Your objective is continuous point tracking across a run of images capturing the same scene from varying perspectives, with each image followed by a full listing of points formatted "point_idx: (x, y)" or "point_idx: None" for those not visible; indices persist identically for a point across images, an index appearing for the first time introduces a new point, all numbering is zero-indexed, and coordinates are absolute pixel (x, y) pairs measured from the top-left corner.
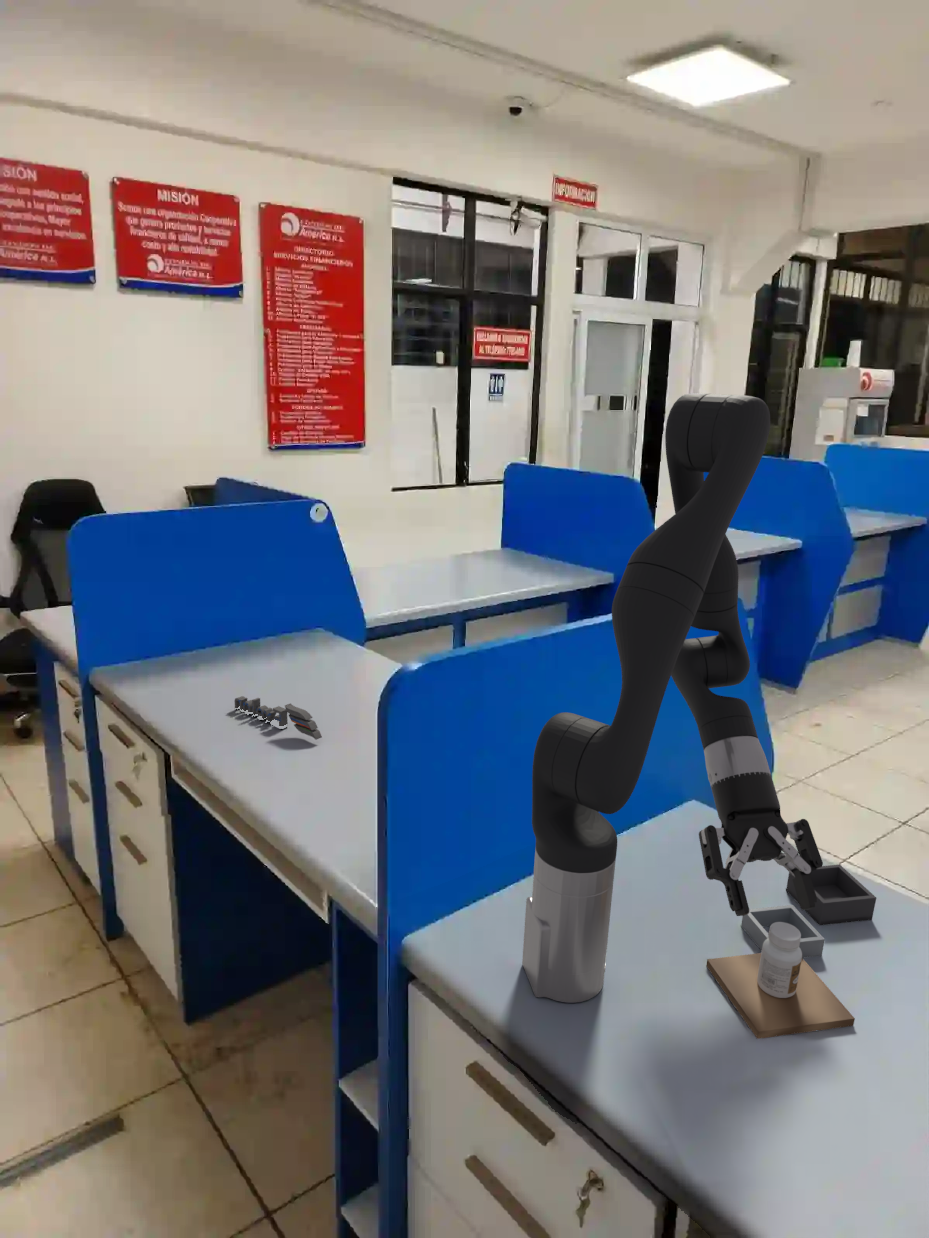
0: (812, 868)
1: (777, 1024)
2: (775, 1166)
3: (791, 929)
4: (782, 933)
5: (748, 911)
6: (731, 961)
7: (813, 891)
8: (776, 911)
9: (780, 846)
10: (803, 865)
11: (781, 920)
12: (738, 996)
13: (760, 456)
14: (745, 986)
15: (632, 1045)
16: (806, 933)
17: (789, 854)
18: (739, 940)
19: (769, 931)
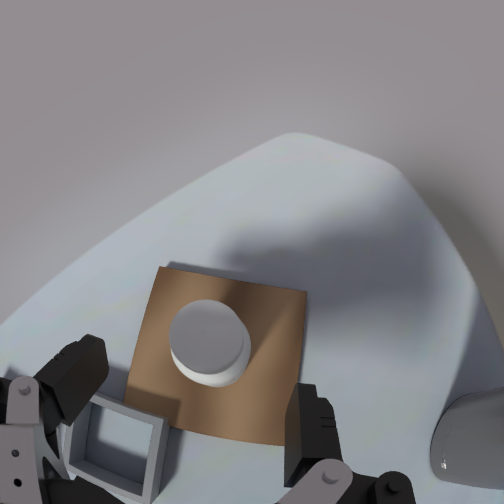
0: (8, 385)
1: (272, 293)
2: (366, 183)
3: (185, 333)
4: (220, 329)
5: (298, 383)
6: (248, 431)
7: (60, 355)
8: (94, 475)
9: (39, 484)
10: (22, 396)
11: (92, 466)
12: (292, 358)
13: None
14: (266, 374)
15: (440, 327)
16: (81, 421)
17: (32, 440)
18: (185, 474)
19: (237, 357)
